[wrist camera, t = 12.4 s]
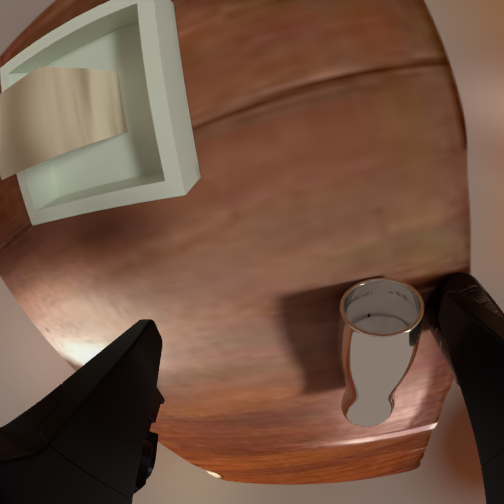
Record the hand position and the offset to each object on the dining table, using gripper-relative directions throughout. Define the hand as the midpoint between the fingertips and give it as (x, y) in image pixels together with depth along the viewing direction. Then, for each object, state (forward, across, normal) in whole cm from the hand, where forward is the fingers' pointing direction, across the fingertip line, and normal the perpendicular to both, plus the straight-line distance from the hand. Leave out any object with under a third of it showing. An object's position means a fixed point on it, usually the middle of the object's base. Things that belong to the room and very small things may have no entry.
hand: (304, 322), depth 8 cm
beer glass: (+10, -8, +23) cm, 26 cm away
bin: (+13, +12, -8) cm, 19 cm away
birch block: (+12, +12, -8) cm, 19 cm away
